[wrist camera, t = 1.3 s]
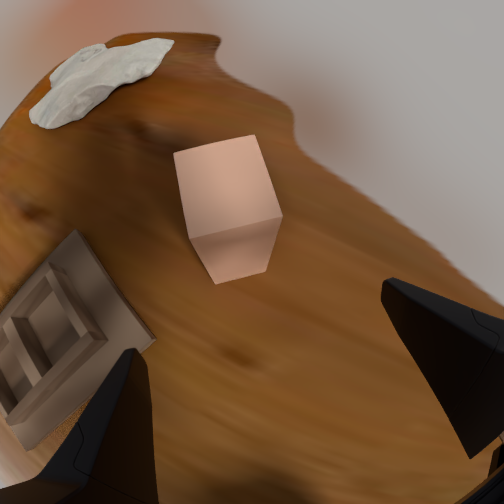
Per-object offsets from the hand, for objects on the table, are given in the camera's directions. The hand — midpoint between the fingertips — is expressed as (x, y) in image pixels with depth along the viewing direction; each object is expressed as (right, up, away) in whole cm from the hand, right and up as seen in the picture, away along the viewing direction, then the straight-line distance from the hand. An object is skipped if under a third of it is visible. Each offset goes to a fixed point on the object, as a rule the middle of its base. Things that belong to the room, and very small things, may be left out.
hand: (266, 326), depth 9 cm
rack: (-19, -7, +11) cm, 23 cm away
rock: (-21, +22, +19) cm, 36 cm away
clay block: (-2, +3, +14) cm, 14 cm away
